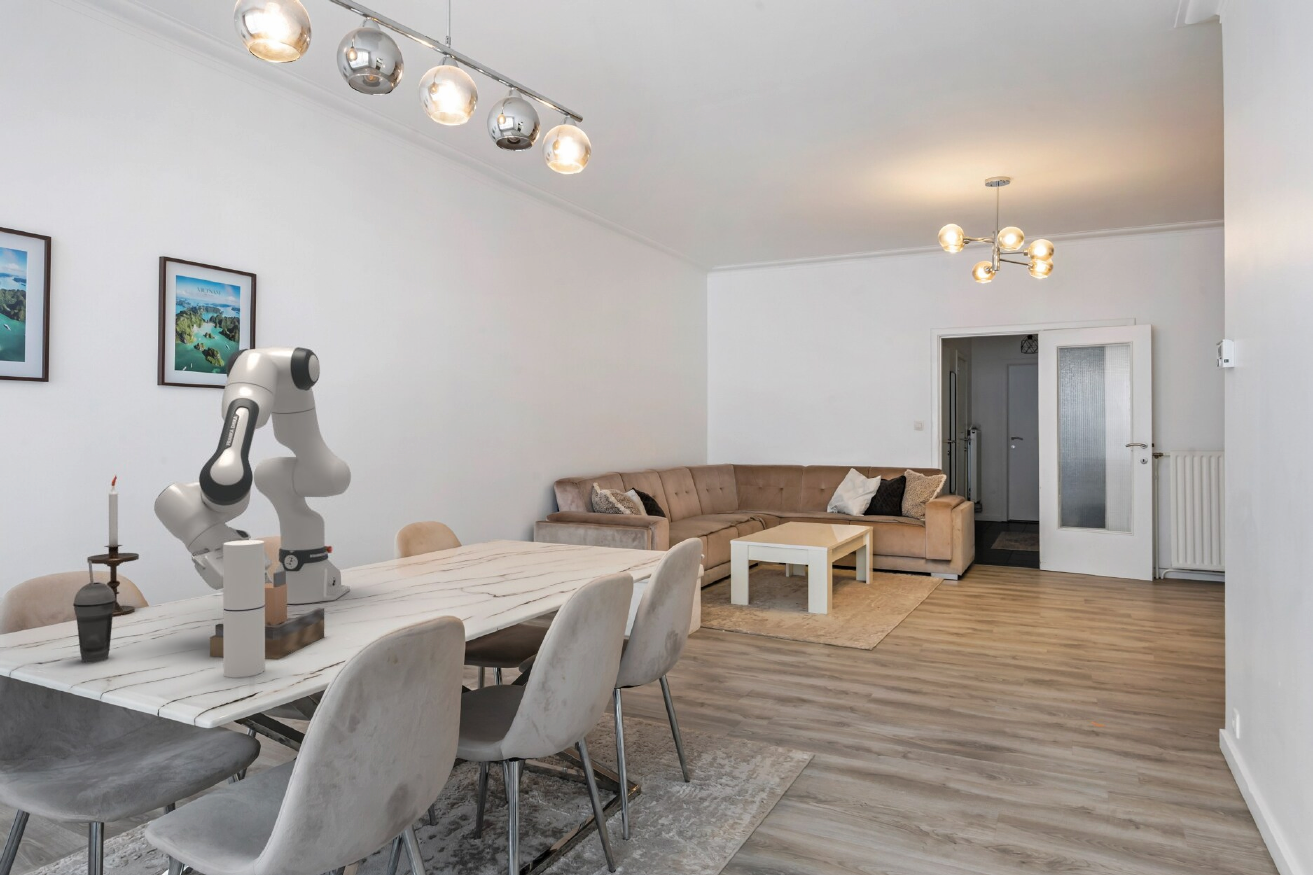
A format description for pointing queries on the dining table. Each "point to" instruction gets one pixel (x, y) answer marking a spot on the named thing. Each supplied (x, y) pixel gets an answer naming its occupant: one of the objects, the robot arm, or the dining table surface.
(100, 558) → the candlestick
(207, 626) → the dining table surface
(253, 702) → the dining table surface
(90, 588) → the beverage cup
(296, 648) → the dock
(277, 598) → the tan block
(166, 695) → the dining table surface
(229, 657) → the cylindrical container
